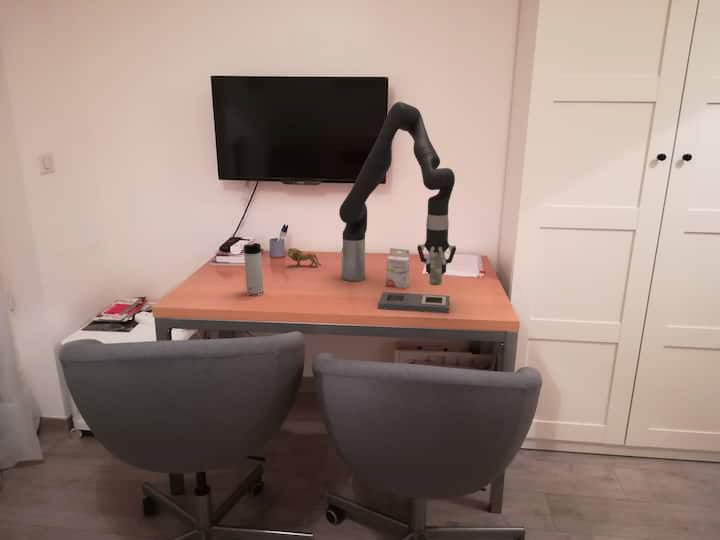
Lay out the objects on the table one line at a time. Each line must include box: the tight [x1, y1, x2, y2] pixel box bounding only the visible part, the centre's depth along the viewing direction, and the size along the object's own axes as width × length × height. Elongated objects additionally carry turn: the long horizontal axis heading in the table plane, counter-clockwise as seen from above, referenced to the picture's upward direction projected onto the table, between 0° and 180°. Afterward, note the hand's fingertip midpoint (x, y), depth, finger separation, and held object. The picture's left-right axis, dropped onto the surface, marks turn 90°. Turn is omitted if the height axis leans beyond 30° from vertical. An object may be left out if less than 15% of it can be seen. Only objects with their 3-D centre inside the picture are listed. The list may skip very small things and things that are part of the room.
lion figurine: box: [287, 247, 322, 269], centre depth 237 cm, size 15×5×9 cm, turn 98°
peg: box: [428, 252, 443, 286], centre depth 188 cm, size 4×4×12 cm
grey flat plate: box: [377, 291, 451, 314], centre depth 194 cm, size 25×12×2 cm, turn 80°
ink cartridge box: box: [385, 247, 411, 289], centre depth 212 cm, size 9×5×15 cm, turn 71°
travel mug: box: [243, 243, 264, 296], centre depth 202 cm, size 6×7×20 cm
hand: (435, 273), depth 189 cm, fingers closed on peg, 4 cm apart
